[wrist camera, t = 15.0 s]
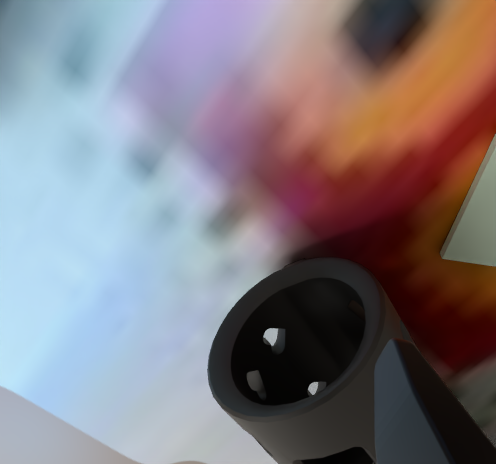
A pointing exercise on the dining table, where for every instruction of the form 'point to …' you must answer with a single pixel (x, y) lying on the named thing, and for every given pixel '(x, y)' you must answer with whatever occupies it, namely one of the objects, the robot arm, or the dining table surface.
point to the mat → (476, 219)
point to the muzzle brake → (306, 361)
